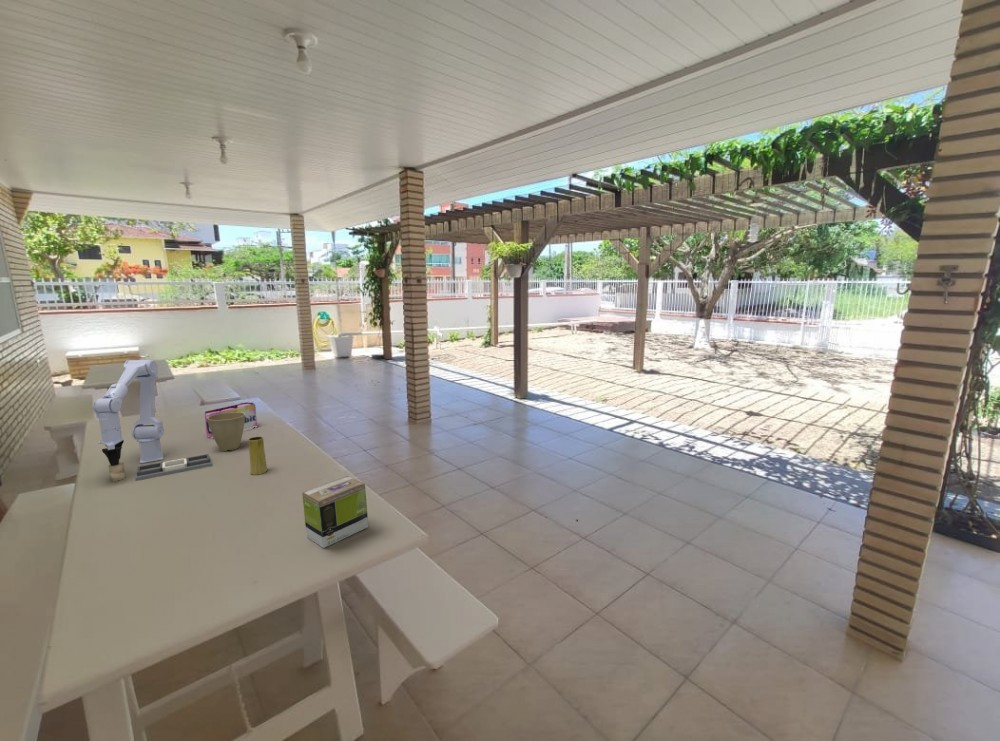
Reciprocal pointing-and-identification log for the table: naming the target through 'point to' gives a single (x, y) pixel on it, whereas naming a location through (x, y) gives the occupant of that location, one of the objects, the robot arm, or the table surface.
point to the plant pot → (227, 429)
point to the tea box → (335, 510)
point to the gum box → (243, 408)
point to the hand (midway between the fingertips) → (115, 462)
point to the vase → (257, 455)
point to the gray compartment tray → (172, 466)
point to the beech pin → (117, 472)
